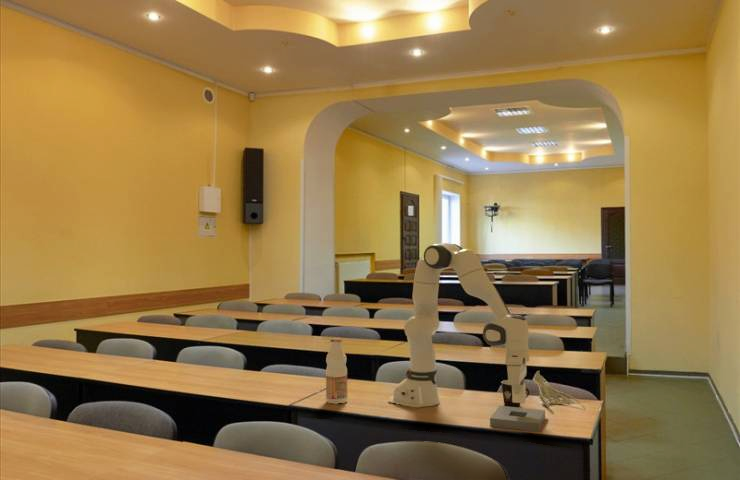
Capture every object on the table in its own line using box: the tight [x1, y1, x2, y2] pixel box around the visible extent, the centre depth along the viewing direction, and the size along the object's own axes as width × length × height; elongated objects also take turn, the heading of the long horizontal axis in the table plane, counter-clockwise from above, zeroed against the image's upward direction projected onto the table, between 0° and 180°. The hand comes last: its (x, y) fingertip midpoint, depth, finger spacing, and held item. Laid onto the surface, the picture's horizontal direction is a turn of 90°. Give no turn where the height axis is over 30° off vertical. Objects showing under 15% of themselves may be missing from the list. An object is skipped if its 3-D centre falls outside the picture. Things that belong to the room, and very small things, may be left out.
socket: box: [489, 405, 546, 433], centre depth 222 cm, size 18×18×3 cm
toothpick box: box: [512, 379, 527, 404], centre depth 222 cm, size 4×4×8 cm
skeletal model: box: [532, 370, 586, 414], centre depth 246 cm, size 16×9×25 cm
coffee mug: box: [500, 379, 530, 408], centre depth 243 cm, size 12×9×10 cm
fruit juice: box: [325, 337, 348, 405], centre depth 255 cm, size 9×9×28 cm
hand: (518, 392), depth 222 cm, fingers closed on toothpick box, 4 cm apart
